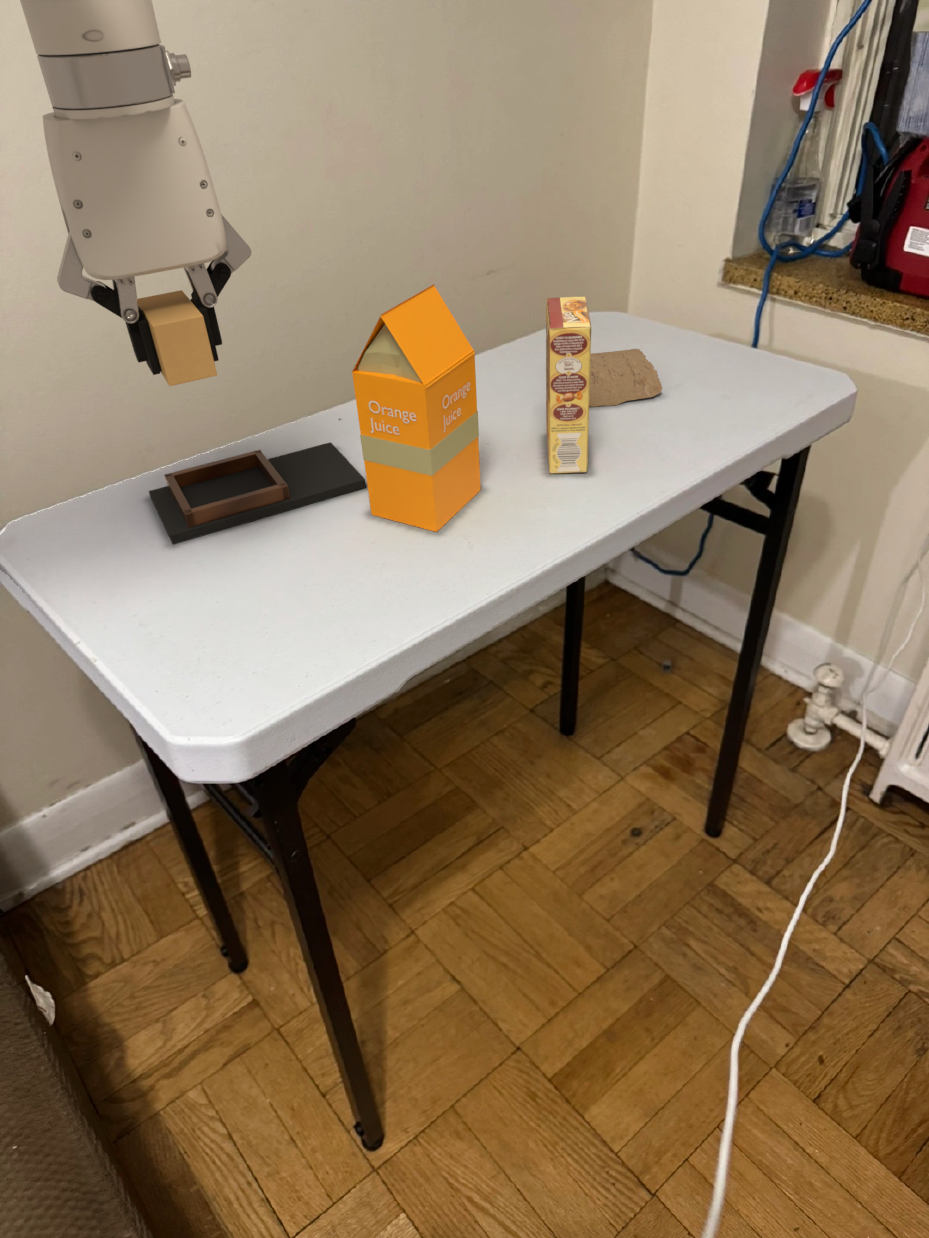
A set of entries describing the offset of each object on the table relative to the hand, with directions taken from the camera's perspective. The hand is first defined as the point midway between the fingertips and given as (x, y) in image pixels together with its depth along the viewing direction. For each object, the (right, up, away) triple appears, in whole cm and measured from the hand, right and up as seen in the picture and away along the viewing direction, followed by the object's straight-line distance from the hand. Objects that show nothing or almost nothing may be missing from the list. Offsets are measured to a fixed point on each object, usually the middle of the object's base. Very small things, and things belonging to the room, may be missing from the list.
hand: (181, 360), depth 66 cm
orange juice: (+18, -8, +20) cm, 28 cm away
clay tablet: (+39, +10, +41) cm, 58 cm away
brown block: (0, 0, 0) cm, 0 cm away
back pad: (0, -7, +23) cm, 24 cm away
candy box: (+33, -2, +26) cm, 42 cm away
